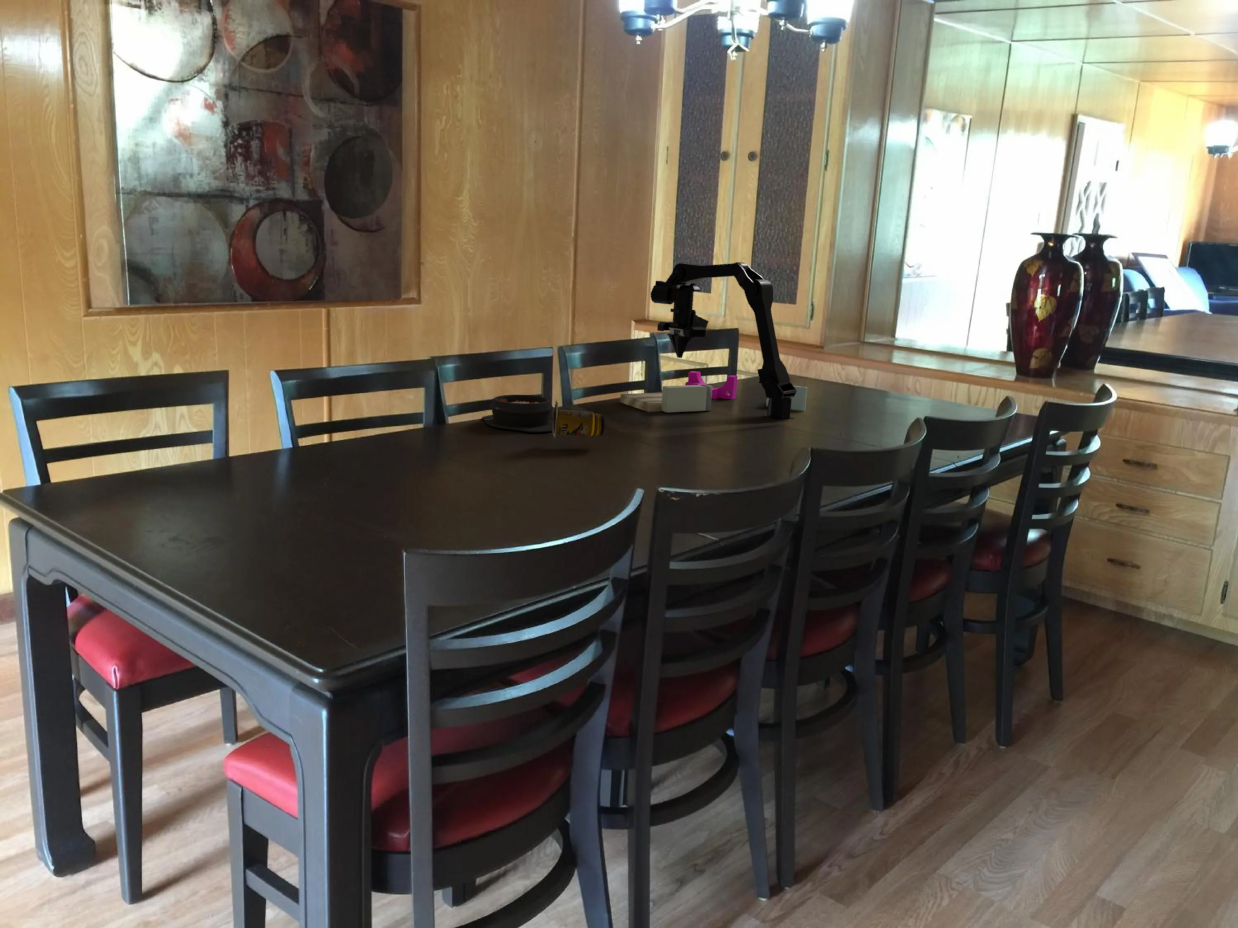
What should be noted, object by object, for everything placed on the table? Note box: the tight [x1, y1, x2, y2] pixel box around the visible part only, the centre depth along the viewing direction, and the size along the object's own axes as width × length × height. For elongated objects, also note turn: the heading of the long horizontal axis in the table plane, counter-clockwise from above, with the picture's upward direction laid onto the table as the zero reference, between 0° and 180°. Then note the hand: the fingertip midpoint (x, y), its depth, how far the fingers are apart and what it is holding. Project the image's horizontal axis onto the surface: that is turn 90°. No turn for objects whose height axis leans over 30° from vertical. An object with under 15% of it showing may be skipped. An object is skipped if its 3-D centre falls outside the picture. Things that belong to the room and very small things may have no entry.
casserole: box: [481, 394, 555, 434], centre depth 258 cm, size 25×19×8 cm
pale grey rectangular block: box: [660, 384, 713, 413], centre depth 278 cm, size 16×3×7 cm, turn 120°
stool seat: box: [619, 392, 662, 413], centre depth 286 cm, size 16×20×2 cm
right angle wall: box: [765, 385, 808, 412], centre depth 297 cm, size 12×12×8 cm
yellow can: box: [552, 400, 606, 438], centre depth 235 cm, size 7×8×12 cm
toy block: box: [684, 370, 738, 400], centre depth 306 cm, size 15×6×8 cm, turn 67°
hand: (679, 357), depth 295 cm, fingers closed
